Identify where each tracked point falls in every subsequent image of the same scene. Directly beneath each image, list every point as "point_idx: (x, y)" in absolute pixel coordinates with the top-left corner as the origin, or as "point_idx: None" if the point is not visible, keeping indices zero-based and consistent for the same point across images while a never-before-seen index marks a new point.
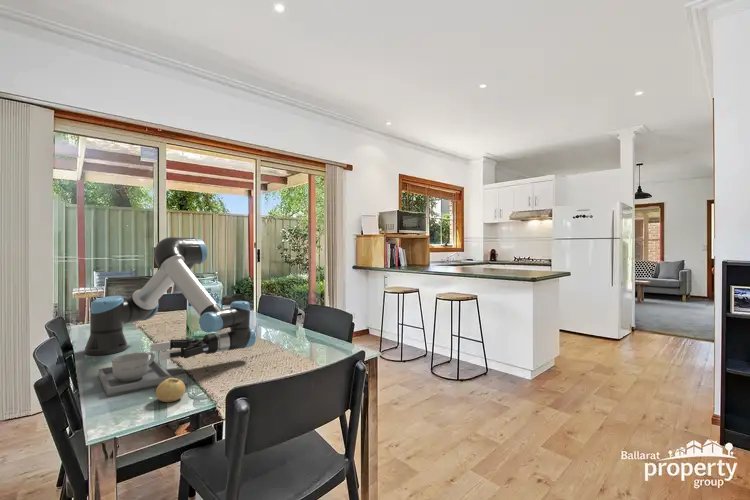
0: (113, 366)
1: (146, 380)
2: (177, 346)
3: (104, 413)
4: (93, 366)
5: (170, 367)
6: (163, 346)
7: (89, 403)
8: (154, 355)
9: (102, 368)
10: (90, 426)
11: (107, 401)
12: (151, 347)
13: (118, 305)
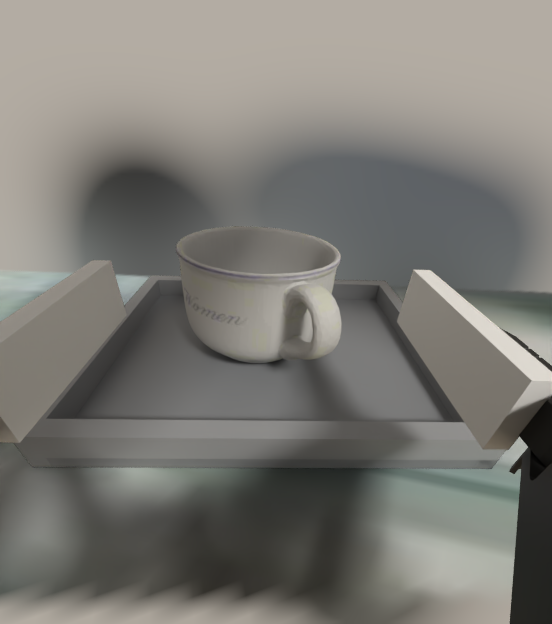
0: (245, 249)
1: (108, 339)
2: (531, 536)
3: (45, 285)
4: (502, 304)
5: (432, 565)
6: (456, 359)
7: None
8: (313, 333)
9: (386, 285)
10: (8, 271)
11: (121, 294)
12: (407, 294)
13: None
